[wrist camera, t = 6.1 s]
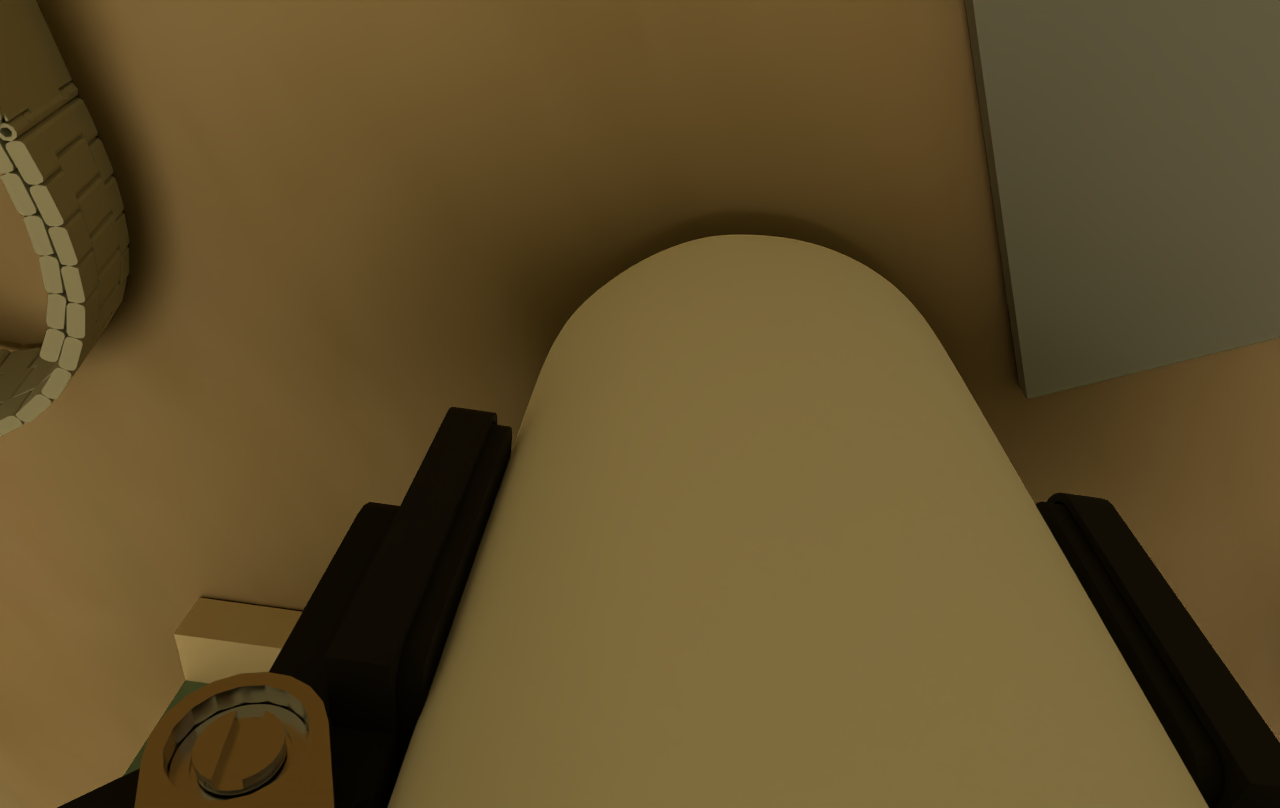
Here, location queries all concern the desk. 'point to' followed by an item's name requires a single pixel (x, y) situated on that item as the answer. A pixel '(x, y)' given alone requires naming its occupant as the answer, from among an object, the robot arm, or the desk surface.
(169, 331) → the desk surface
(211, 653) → the chalkboard panel
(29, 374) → the wristwatch
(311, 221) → the desk surface
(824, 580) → the can
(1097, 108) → the grey mat
